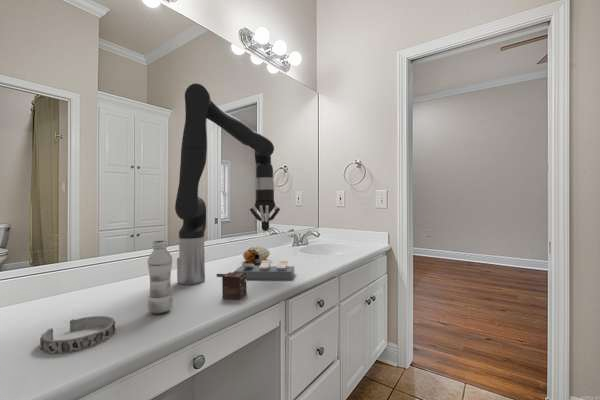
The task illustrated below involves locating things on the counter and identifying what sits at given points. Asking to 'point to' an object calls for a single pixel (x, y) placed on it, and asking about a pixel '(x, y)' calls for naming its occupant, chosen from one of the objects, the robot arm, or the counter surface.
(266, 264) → the rocker middle
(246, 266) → the rocker left
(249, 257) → the nautilus
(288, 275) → the power strip
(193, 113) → the robot arm
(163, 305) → the plastic bottle
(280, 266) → the rocker right
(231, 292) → the box
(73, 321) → the bracelet
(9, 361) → the counter surface
